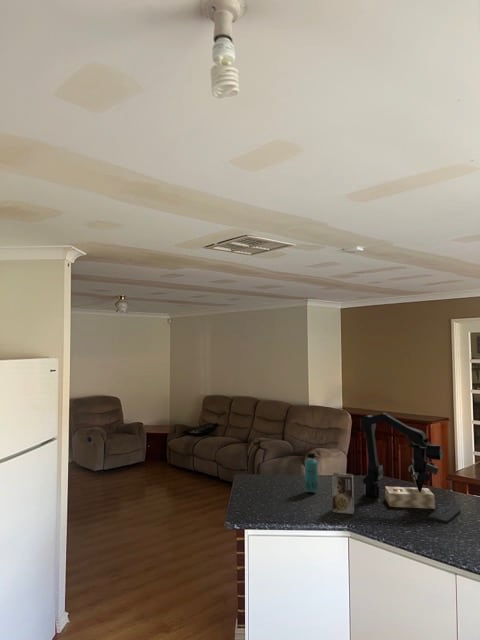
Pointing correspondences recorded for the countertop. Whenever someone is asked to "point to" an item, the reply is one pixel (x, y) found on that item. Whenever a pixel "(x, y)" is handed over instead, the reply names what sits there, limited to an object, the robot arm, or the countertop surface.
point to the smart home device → (444, 514)
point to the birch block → (409, 497)
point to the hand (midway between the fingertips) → (419, 491)
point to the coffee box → (343, 493)
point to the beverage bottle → (311, 473)
